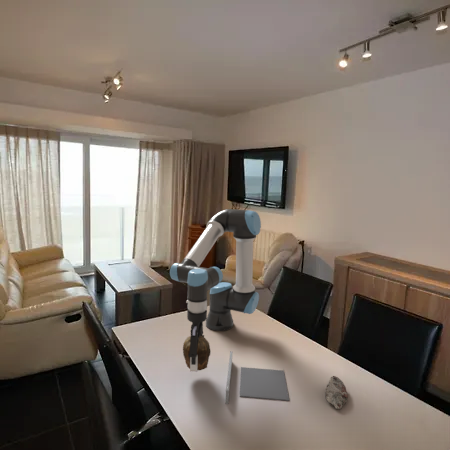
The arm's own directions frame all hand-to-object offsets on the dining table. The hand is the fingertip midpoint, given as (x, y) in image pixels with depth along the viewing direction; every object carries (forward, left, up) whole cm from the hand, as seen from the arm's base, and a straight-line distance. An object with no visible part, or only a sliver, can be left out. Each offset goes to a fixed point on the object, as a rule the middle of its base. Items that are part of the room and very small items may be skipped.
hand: (196, 361), depth 123 cm
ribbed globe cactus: (0, 0, -2) cm, 2 cm away
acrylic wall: (-9, +10, -7) cm, 15 cm away
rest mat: (-18, +20, -7) cm, 28 cm away
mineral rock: (-32, +44, -7) cm, 54 cm away
